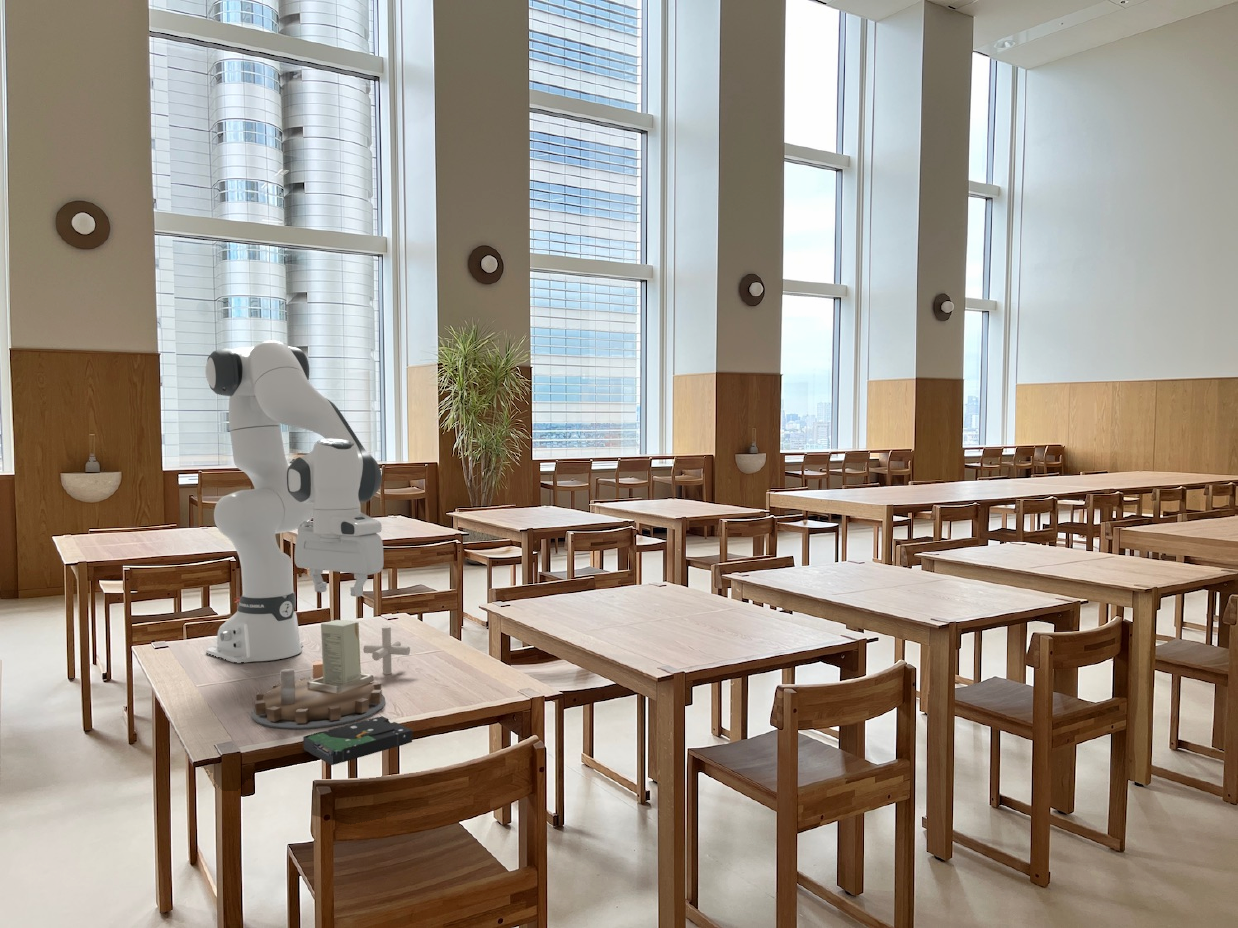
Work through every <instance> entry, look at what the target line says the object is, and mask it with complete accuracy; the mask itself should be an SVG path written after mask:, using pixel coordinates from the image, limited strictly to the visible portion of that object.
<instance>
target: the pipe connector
mask: <svg viewBox="0 0 1238 928" xmlns="http://www.w3.org/2000/svg"><path fill="white" fill-rule="evenodd" d="M391 631H392V629H391V626H390V625H387V626H386V625H385V626H382V627H381V639H382V643H381V644H382V645H379V644H364V645H363V648H362V649H363V653H364V654H371V657H372V659H373V660H374V661H379V660H381V659H382V674H383V675H390V674H392V672H393V671H392V670H393V669H392V655H398V656H399V655H400V656H409V655H410V652H411V647H410V646H403V645H402V644H401V642H400V641H399V640H394V641H393V642H392V632H391Z"/></svg>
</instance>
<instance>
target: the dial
mask: <svg viewBox="0 0 1238 928" xmlns="http://www.w3.org/2000/svg"><path fill="white" fill-rule="evenodd" d="M279 675H280V682H279V683H276V684H273V685H272V689H270V690H268V691H259V692H258V693H256V694H255V696H256V697H255V699H256V700H254V701H253V704H254V705H253V708H254V713H255V714H256V715H261V714H266V715H267V720H268V721H273V722H275V721H278V720H281V719H283V720H295V723H307V721H308V720H320V719H328V718H329V719H330V720H331V721H332V720H338V719H341V716H344V715H348V714H351V713H354V712H358V713H364V712H366V711H369V705H371V704H380V703H381V701H382V695H383V690H382V684H381V682H379V681H374V675H373V674H366V673H362V672H361V679H358V680H355V681H353V682H350V683H347V684H344V685H341V686H334V685H328V684H324V682H323V677H321V678H316V679H313V678H311V677H309V676H308V677H301V678H300V679H299V680H298V681H296V680H295V679H296V678H295V675H296V674H295V669H294V668H285V669H281V670H280V673H279Z"/></svg>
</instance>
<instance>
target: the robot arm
mask: <svg viewBox="0 0 1238 928" xmlns="http://www.w3.org/2000/svg"><path fill="white" fill-rule="evenodd" d="M206 361H207V362H206V365H205V377H206V380H207V383H208V384H209V388H210V389H211V390H212V392H214V394H216V395H219V396H225V397H229V401H228V427H229V433H230V434H229V435H230V443H231V450H232V457H233V458H232V459H233V463H234V465H235V467H236V468H237V469H238V470H239V471H241V472H243V473H244V474H245V475H247V477H248V478H249V479H250V482H251V483H252V485H253V488H251V489H241V490H238V491H234V492H231V493H229V494H227V495H224V496H222V497H221V498H219V500H218V501H217V502H216V504H215V506H214V510H213V520H214V524H215V526H216V528H217V530H218V531H219V532H220V533H221V534H222V535H223V536H225V537H226V538H227V539H228V540H229V541H230V542H231V543H232V545H233V547H234V549H235V551H236V553H237V556H238V559H239V563H240V567H241V568H240V569H241V584H242V585H241V587H242V594H241V596H238V597H235V598H234V600H236V601H234V603H235V604H237V603H238V606H237V609H236V610H237V611H236V612H235V613H234V614H233V615H231V616H230V617H229V618H228V619H227V620H226V621H225V622H224V623H222V624H221V625H220V626H219V627H218V630H217V636H216V638H217V639H216V644H215V645H213V646H210V647H208V648H206V651H205V653H209V654H211V655H210V656H212V655H214V656H213V657H215V656H216V658H218V657H222V658H224V659H223V660H225V659H226V660H225V661H228V662H231V663H234V662H237V663H236V664H242V663H241V662H244V663H250V662H251V663H252V662H268V661H275V660H280V659H287V658H290V657H293V656H296V655H298V654H301V653H302V651H303V649H302V648H303V640H300V631H299V624H298V623H299V621H298V616H297V612H295V608H296V601H297V599H296V592H295V591H294V575H293V574H294V571H293V570H294V569H293V568H294V567H293V561H292V558H291V557H290V556H289V555H288V554H287V553H285V552H283V551H282V550H281V548H280V547H279V545H278V541H277V538H276V537H277V536H276V534H282V533H284V534H285V533H289V532H293V531H296V530H297V535H296V539H295V545H294V559H293V560H294V564H295V565H296V567H297V568H300V569H308V570H309V576H310V578H311V580H312V582H313V585H314V592H315V593H325V592H326V591H327V582H326V581H324V579H323V577H322V574H323V573H324V571H327V572H337V573H338V572H339V573H349V574H353V578H354V580H355V582H354V585H353V586H350V587H349V588H350V596H351V597H355V598H358V597H362V596H363V594H364V591H363V590H364V589H363V587H364V585H365V584H366V581H367V579H368V576H369V575H375V574H378V573H380V572H382V570H383V568H384V560H385V559H384V544H383V538H382V537H381V536H380V535H379V533H381V532H382V528H383V527H382V523H381V522H380V521H379V520H377V519H375V518H373V517H371V516H369V515H367V514H365V513H364V512H362V511H361V506H362V505H361V503H367V502H369V501H370V500H371V499H373V497H374V496H375V495H376V494H377V493H378V491H380V488H381V486H382V483H383V482H382V481H383V475H382V470H381V467H380V465H379V464H378V462H377V460H376V459H375V458H374V457H373V456H372V454H370V453H369V452H368V451H367V449H365V447H364V446H363V443H361V441H360V440H359V438H358V437H357V435H356V434H355V432H354V430H353V429H352V427H351V426H350V424H349V423H348V421H347V420H346V418H345V417H344V415H343V414H342V413H341V411H340V409H339V408H338V407H337V405H336V404H335V403H334V402H332V401H331V400H330V399H328V398H326V397H325V396H323V395H322V394H321V393H320V392H319V391H318V390H317V389H316V388H315V387H314V386H313V385H312V384H311V383H310V381H309V379H310V364H309V360H308V357H307V354H305V352H304V351H303V350H302V349H300V348H298V347H293V346H289V345H286V344H285V343H283V342H280V341H277V340H265V341H262V342H260V343H258V344H255V346H246V347H236V348H228V347H226V348H225V347H224V348H221V349H217V350H214V351H212V352H211V353H210V354H209V355H208V357H207V360H206ZM281 425H285V426H289V427H293V428H298V429H303V430H307V431H310V432H313V433H316V434H318V435H320V436H322V437H323V438H322V439H319V440H317V441H315V442H314V445H313V449H312V450H311V451H310V452H308V453H307V454H305V455H302V456H300V457H296V458H295V459H294V460H293V461H292V462H291V464H290V465H289V464H288V461H287V459H286V454H285V448H284V447H285V446H284V441H283V436H282V426H281ZM209 654H208V655H209Z"/></svg>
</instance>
